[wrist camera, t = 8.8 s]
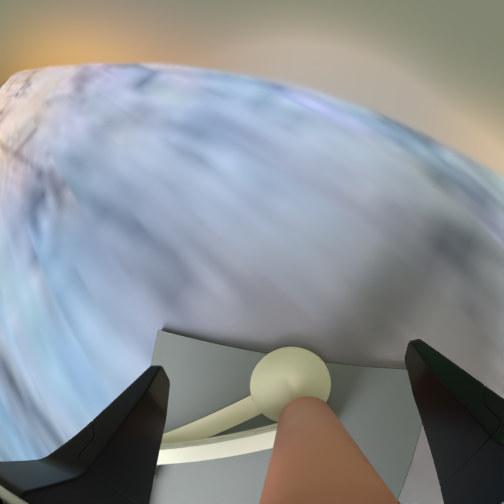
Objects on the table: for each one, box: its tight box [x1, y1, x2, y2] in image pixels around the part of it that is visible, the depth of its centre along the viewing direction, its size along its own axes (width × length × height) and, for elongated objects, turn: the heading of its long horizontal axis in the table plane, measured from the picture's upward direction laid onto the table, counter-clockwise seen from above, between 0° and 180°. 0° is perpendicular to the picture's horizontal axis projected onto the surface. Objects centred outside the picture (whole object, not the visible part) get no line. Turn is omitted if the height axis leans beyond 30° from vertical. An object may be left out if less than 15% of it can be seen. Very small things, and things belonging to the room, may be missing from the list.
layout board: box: [149, 330, 422, 504], centre depth 13 cm, size 19×17×1 cm
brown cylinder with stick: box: [157, 397, 400, 504], centre depth 9 cm, size 12×3×11 cm, turn 106°
